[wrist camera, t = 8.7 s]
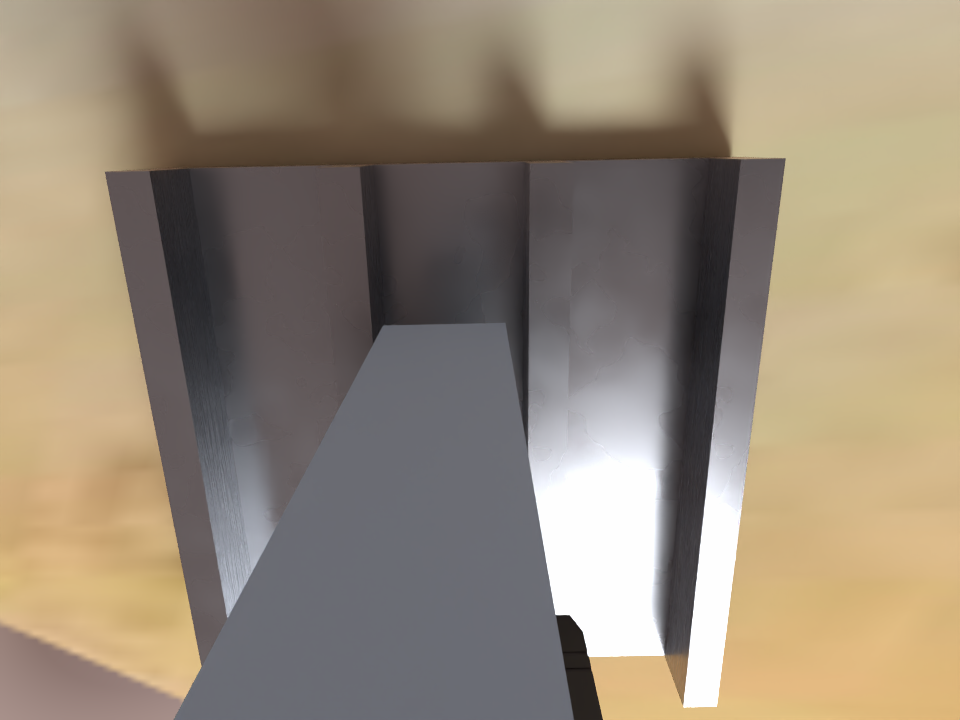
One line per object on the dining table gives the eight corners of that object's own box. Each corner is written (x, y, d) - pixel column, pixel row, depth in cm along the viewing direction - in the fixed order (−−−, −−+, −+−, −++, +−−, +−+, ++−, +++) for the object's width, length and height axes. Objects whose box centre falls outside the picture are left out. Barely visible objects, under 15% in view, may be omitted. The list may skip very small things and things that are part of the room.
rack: (164, 167, 21) (45, 175, 15) (735, 156, 20) (834, 160, 15) (244, 644, 27) (180, 779, 21) (686, 636, 26) (743, 770, 21)
